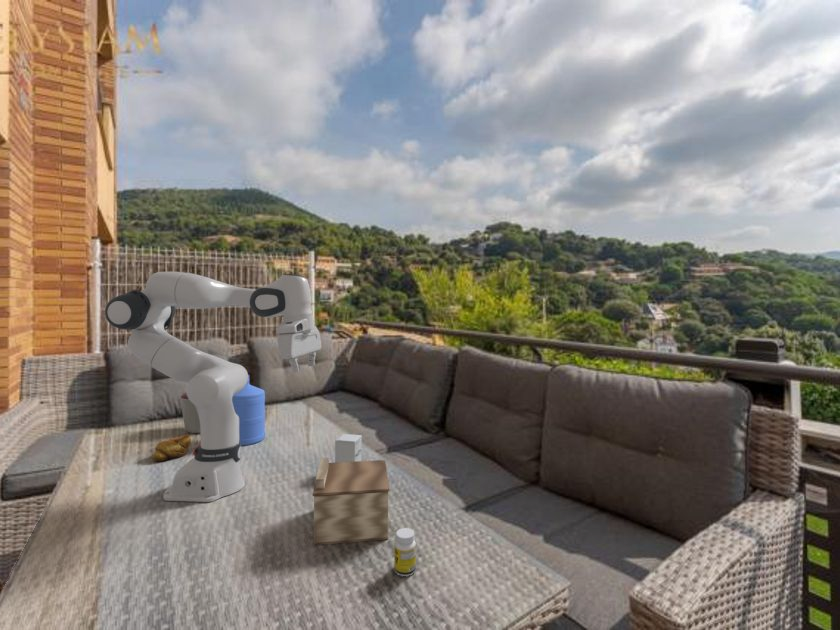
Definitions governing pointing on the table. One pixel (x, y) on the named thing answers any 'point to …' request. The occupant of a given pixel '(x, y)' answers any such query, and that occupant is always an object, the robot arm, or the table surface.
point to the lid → (351, 477)
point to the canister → (189, 415)
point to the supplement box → (348, 448)
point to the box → (350, 517)
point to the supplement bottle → (405, 552)
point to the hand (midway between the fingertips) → (304, 368)
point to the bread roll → (172, 448)
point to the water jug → (250, 414)
